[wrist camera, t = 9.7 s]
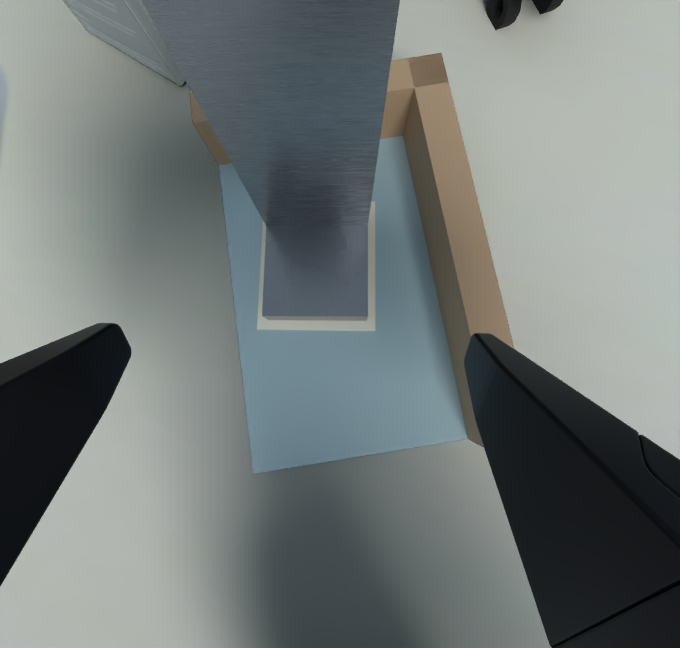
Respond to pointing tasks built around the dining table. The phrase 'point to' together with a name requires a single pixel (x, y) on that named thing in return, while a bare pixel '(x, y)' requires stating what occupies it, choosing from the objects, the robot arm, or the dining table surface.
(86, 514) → the dining table surface
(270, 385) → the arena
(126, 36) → the skincare box
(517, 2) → the decorative element
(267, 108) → the grey tall post
